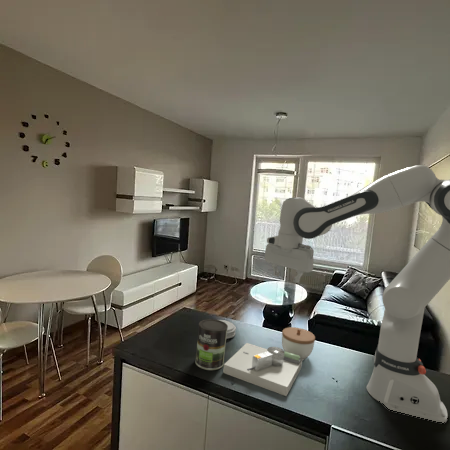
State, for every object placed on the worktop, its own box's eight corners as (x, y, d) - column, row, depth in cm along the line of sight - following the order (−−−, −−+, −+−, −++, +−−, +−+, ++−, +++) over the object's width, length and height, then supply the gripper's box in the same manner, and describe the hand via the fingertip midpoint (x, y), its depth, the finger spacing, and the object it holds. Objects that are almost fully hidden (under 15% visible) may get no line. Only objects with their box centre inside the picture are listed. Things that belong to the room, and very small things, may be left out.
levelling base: (301, 368, 115) (303, 353, 115) (286, 396, 97) (288, 379, 97) (246, 350, 125) (247, 337, 125) (223, 372, 107) (224, 357, 107)
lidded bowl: (282, 345, 132) (285, 320, 131) (313, 353, 128) (316, 326, 127) (277, 359, 120) (280, 331, 119) (311, 367, 116) (314, 339, 115)
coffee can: (217, 373, 106) (221, 333, 105) (190, 365, 110) (193, 326, 109) (227, 360, 116) (231, 322, 115) (202, 352, 119) (205, 316, 118)
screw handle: (274, 355, 116) (275, 345, 115) (286, 363, 111) (288, 352, 111) (248, 364, 107) (249, 353, 107) (260, 373, 103) (261, 361, 102)
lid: (227, 343, 129) (228, 332, 129) (200, 335, 135) (202, 324, 134) (239, 333, 141) (240, 322, 140) (214, 325, 146) (215, 315, 146)
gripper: (319, 246, 109) (315, 285, 110) (275, 237, 125) (271, 272, 126) (308, 246, 105) (303, 287, 106) (263, 237, 121) (260, 273, 122)
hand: (286, 279), depth 116 cm, fingers open, 8 cm apart
